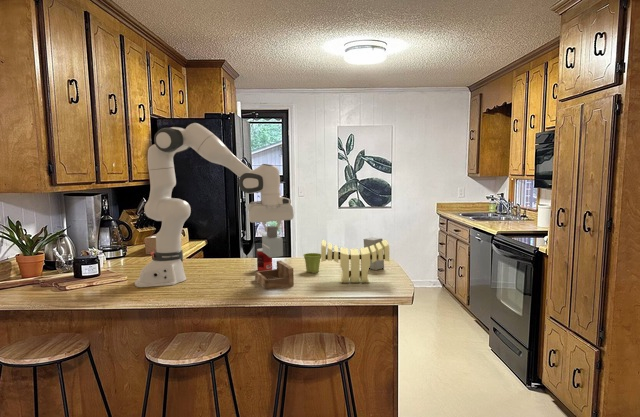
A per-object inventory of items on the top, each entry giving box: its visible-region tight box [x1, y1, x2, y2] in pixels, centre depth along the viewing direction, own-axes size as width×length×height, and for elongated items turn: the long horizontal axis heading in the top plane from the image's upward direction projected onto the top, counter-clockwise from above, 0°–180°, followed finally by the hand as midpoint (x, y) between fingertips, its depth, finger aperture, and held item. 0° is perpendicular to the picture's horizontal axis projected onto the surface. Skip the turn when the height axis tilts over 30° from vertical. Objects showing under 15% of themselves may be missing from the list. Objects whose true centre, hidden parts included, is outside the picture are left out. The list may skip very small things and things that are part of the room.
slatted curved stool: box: [320, 239, 390, 284], centre depth 188 cm, size 30×16×18 cm, turn 87°
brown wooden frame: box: [254, 260, 295, 290], centre depth 185 cm, size 18×13×8 cm
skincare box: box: [363, 236, 385, 271], centre depth 211 cm, size 8×7×16 cm
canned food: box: [256, 247, 273, 271], centre depth 210 cm, size 8×8×11 cm
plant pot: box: [303, 252, 321, 274], centre depth 206 cm, size 9×9×9 cm
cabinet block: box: [261, 225, 284, 258], centre depth 184 cm, size 6×12×12 cm, turn 24°
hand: (271, 231), depth 183 cm, fingers closed on cabinet block, 3 cm apart
